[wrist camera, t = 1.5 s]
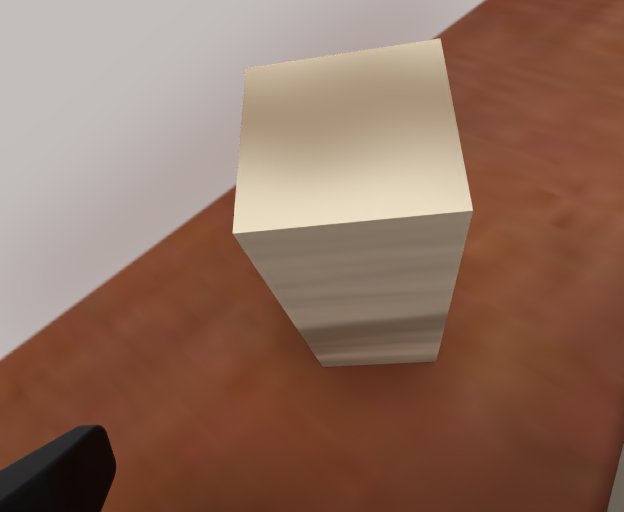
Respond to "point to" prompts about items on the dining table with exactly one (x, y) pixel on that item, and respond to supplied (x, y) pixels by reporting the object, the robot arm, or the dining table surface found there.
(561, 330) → the dining table surface
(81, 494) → the robot arm
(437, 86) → the birch pillar
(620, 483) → the sage block
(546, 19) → the dining table surface
